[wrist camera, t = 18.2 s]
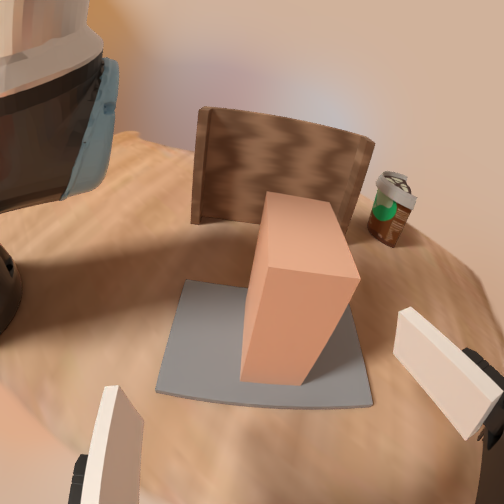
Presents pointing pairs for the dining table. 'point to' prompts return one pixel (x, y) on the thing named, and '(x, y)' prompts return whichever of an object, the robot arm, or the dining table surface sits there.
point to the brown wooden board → (273, 164)
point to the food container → (390, 207)
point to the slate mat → (230, 352)
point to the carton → (294, 289)
